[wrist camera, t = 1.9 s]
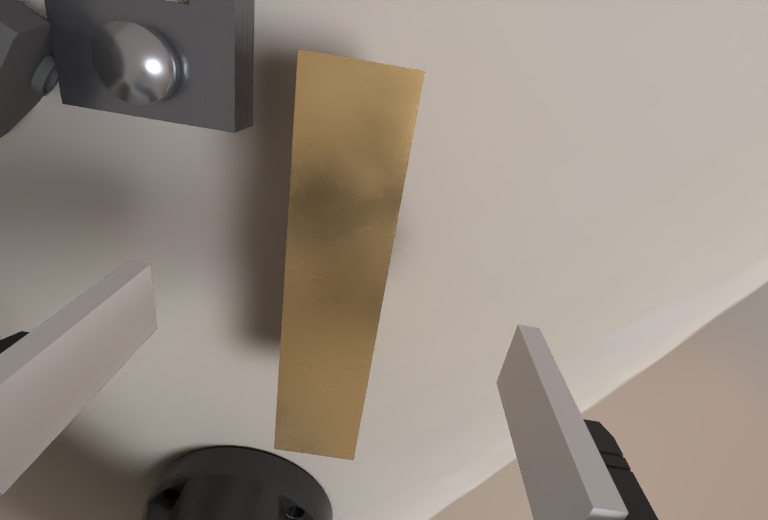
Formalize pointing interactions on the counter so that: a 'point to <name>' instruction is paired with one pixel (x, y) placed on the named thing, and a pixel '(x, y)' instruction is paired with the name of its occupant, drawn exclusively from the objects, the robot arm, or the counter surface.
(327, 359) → the gold bar
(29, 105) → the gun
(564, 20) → the counter surface
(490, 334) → the counter surface
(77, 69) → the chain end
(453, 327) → the counter surface
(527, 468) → the robot arm
